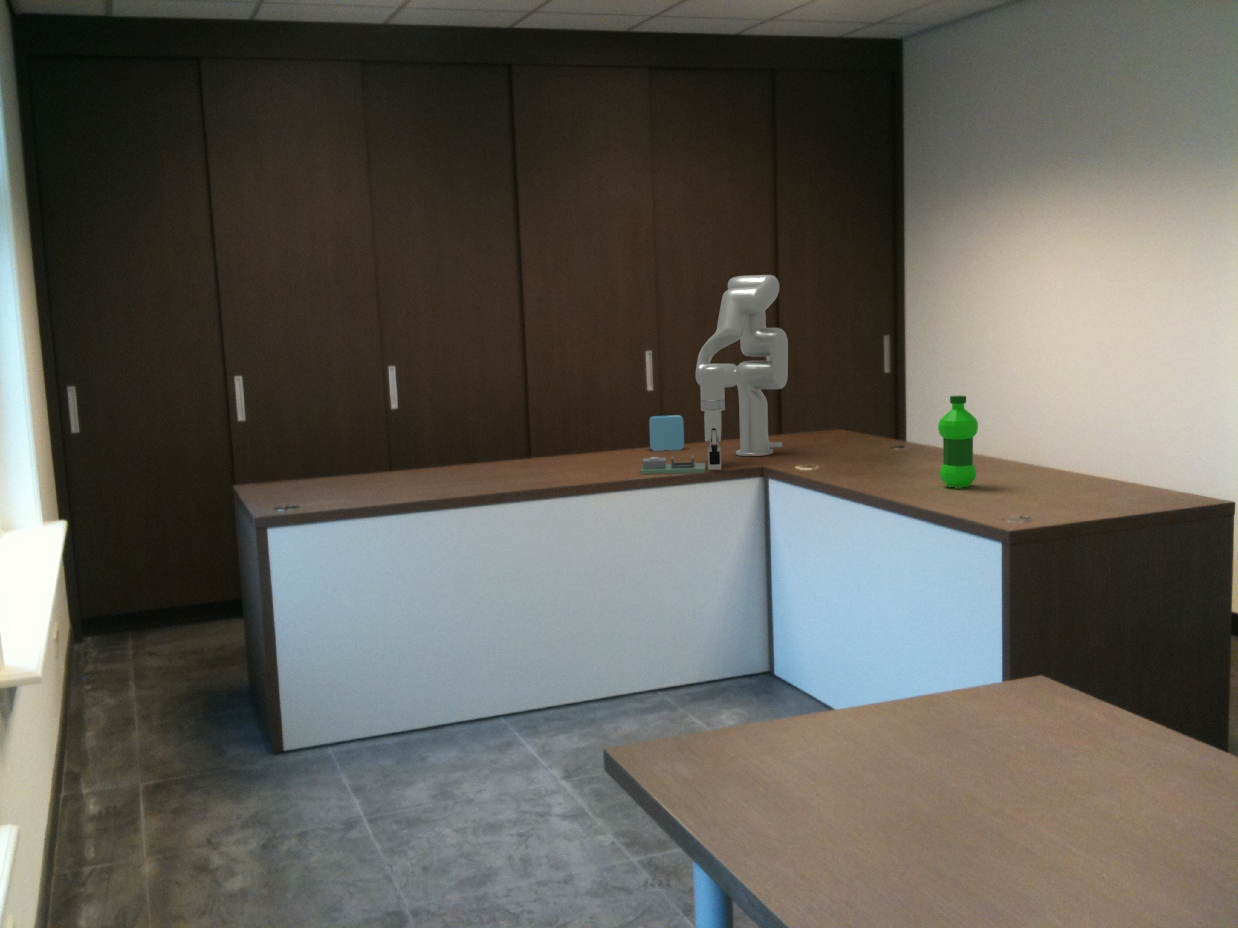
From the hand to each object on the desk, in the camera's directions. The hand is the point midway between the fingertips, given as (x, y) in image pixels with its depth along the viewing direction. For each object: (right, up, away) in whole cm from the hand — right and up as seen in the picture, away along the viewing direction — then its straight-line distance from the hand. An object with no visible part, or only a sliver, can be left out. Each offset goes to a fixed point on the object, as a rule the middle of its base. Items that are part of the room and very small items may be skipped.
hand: (714, 462), depth 385 cm
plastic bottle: (+63, -7, -49) cm, 81 cm away
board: (-13, -3, 0) cm, 13 cm away
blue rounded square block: (-13, +4, +49) cm, 51 cm away
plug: (0, -2, 0) cm, 2 cm away
